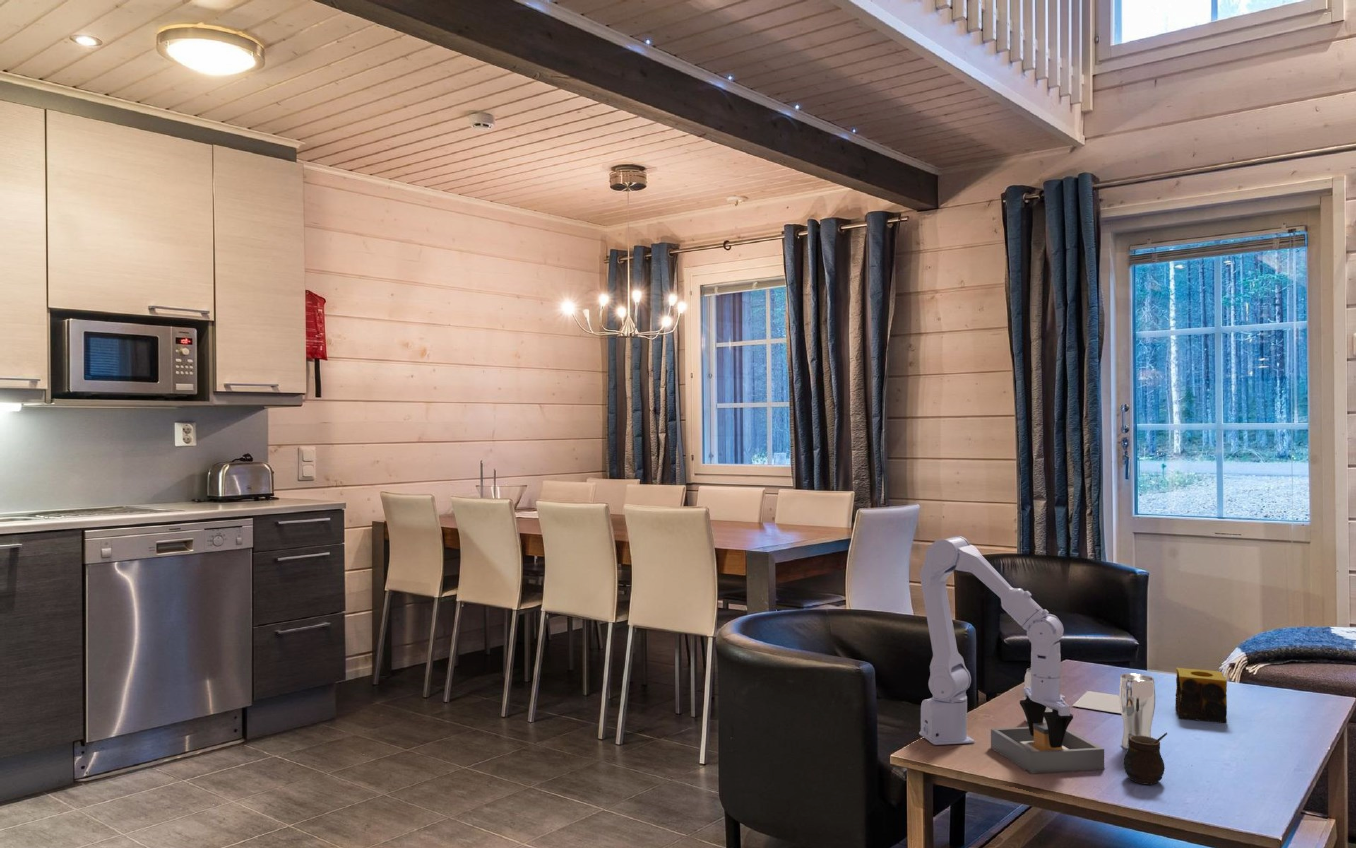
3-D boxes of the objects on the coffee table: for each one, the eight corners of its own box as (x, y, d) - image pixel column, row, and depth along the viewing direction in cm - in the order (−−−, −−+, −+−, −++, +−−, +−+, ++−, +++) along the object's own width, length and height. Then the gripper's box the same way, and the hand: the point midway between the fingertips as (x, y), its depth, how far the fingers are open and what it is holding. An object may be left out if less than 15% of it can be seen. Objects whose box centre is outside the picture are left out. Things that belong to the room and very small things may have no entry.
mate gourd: (1122, 771, 192) (1122, 721, 192) (1164, 777, 190) (1165, 726, 190) (1123, 784, 186) (1124, 731, 186) (1167, 790, 183) (1168, 737, 183)
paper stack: (1032, 702, 243) (1032, 699, 243) (1057, 681, 263) (1057, 678, 263) (1133, 718, 229) (1133, 715, 229) (1152, 695, 250) (1152, 692, 250)
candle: (1178, 719, 228) (1178, 676, 228) (1174, 707, 238) (1174, 666, 238) (1227, 724, 224) (1227, 680, 225) (1221, 712, 234) (1221, 670, 234)
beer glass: (1152, 744, 209) (1152, 674, 210) (1157, 754, 203) (1157, 682, 203) (1117, 741, 212) (1117, 672, 212) (1121, 750, 205) (1121, 679, 205)
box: (1030, 773, 191) (1030, 753, 191) (990, 747, 207) (990, 729, 207) (1104, 769, 194) (1104, 749, 194) (1059, 743, 210) (1059, 725, 210)
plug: (1044, 759, 198) (1044, 729, 198) (1033, 752, 202) (1033, 723, 202) (1062, 757, 199) (1062, 728, 199) (1051, 751, 203) (1051, 722, 203)
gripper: (1083, 683, 194) (1083, 751, 194) (1044, 666, 208) (1044, 729, 208) (1051, 684, 193) (1051, 753, 193) (1014, 667, 207) (1014, 731, 207)
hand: (1045, 741), depth 200 cm, fingers open, 7 cm apart
